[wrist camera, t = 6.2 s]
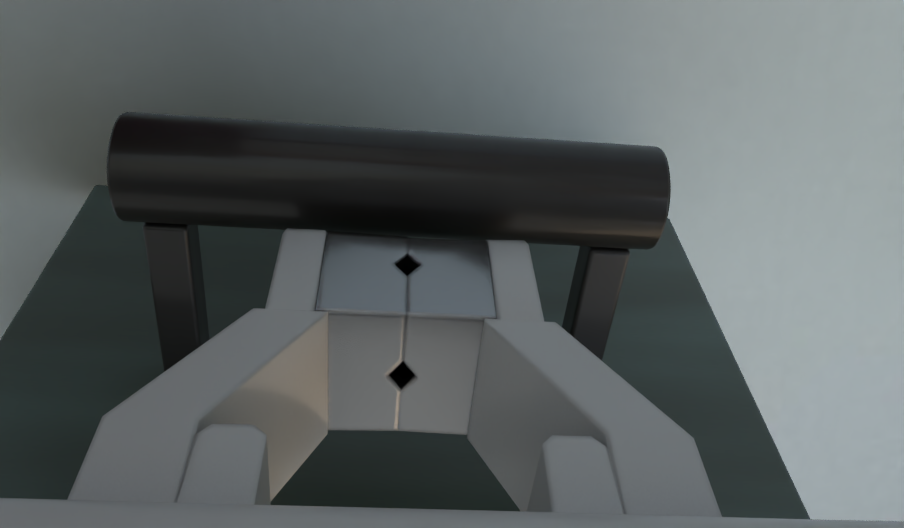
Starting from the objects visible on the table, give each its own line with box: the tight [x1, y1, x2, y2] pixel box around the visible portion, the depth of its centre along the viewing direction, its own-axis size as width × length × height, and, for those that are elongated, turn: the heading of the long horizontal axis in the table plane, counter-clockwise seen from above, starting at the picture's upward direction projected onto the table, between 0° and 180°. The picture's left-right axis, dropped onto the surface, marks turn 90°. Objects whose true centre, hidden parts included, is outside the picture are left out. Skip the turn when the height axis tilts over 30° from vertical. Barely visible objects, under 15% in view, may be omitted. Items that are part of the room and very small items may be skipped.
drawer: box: [0, 112, 810, 519], centre depth 17 cm, size 19×12×8 cm, turn 175°
